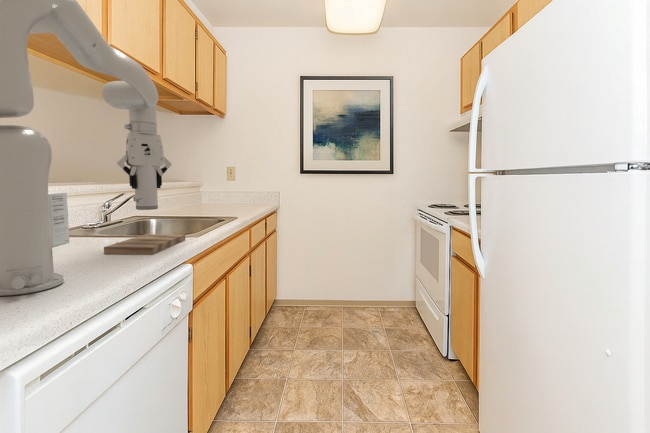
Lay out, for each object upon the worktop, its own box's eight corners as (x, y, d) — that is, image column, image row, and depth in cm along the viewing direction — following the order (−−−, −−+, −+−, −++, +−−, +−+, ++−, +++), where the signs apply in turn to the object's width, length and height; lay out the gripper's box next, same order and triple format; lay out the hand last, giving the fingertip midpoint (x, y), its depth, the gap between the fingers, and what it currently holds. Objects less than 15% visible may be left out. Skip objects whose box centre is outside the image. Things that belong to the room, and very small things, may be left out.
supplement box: (20, 247, 115) (16, 193, 113) (39, 242, 124) (35, 191, 122) (54, 247, 116) (50, 193, 114) (70, 242, 125) (67, 191, 123)
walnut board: (153, 254, 106) (152, 247, 106) (104, 254, 106) (103, 247, 106) (185, 240, 130) (185, 234, 130) (145, 239, 130) (145, 234, 130)
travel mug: (136, 210, 112) (132, 143, 110) (135, 208, 118) (132, 144, 116) (158, 209, 115) (155, 144, 113) (157, 207, 121) (154, 145, 119)
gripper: (114, 126, 106) (118, 189, 108) (176, 131, 117) (178, 188, 119) (108, 128, 111) (112, 188, 113) (168, 133, 123) (170, 187, 125)
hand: (146, 187), depth 116 cm, fingers closed on travel mug, 6 cm apart
